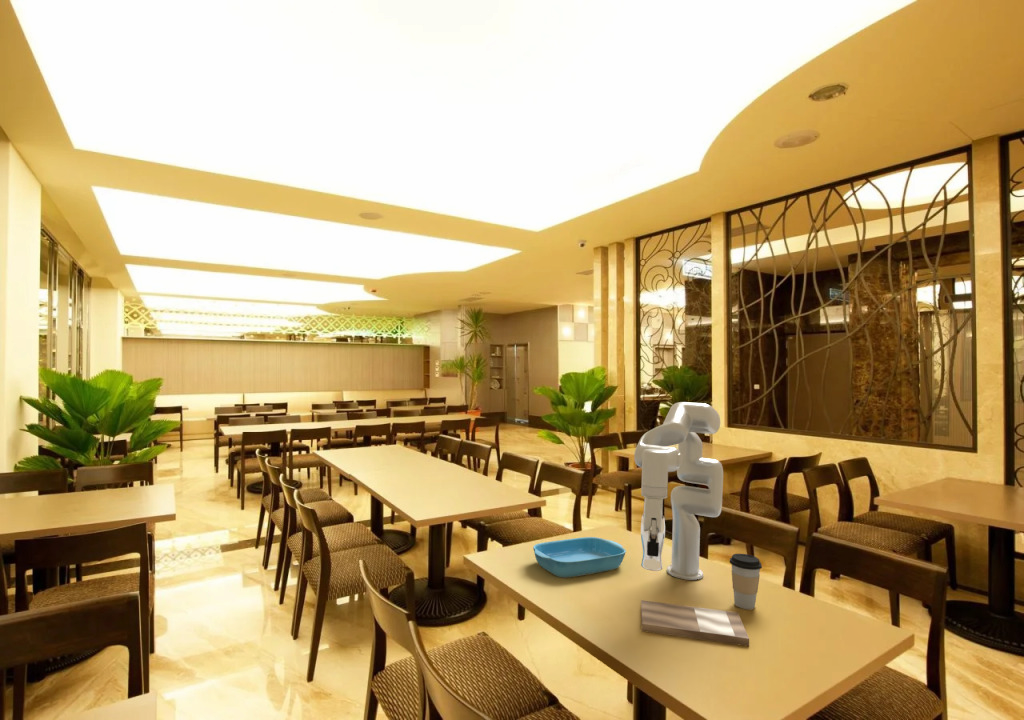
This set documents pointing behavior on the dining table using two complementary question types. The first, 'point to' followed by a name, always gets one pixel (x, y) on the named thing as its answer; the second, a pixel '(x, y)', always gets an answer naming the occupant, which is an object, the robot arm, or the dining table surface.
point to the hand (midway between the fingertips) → (652, 551)
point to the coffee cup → (745, 579)
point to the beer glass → (647, 561)
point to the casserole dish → (579, 556)
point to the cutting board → (693, 622)
